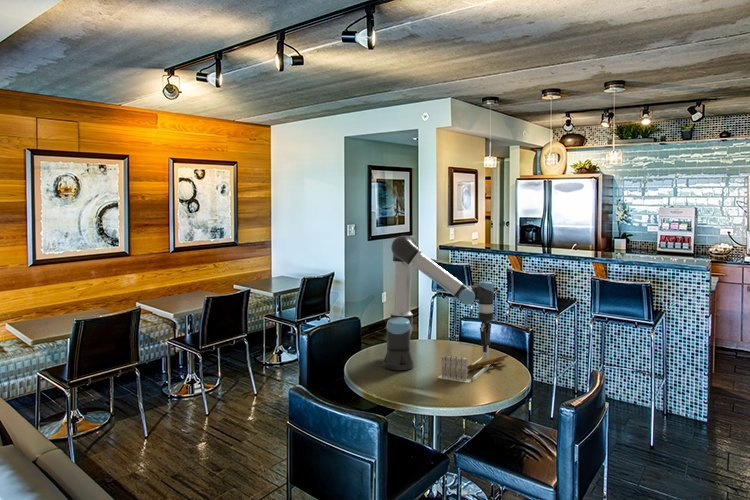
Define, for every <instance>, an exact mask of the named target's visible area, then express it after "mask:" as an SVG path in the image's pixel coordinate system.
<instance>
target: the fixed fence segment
mask: <svg viewBox="0 0 750 500" xmlns="http://www.w3.org/2000/svg"><path fill="white" fill-rule="evenodd" d="M467 366H468V357H461V356H455V355H453V356H452V355H447V354H442V355H441V375H442V377H444V378H445V377H446V376H447V378H451V377H452V379H456V378H457V379H458V380H461V379H462V378H463V380H464V381H466V380H467V379H468V372H467Z"/></svg>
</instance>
